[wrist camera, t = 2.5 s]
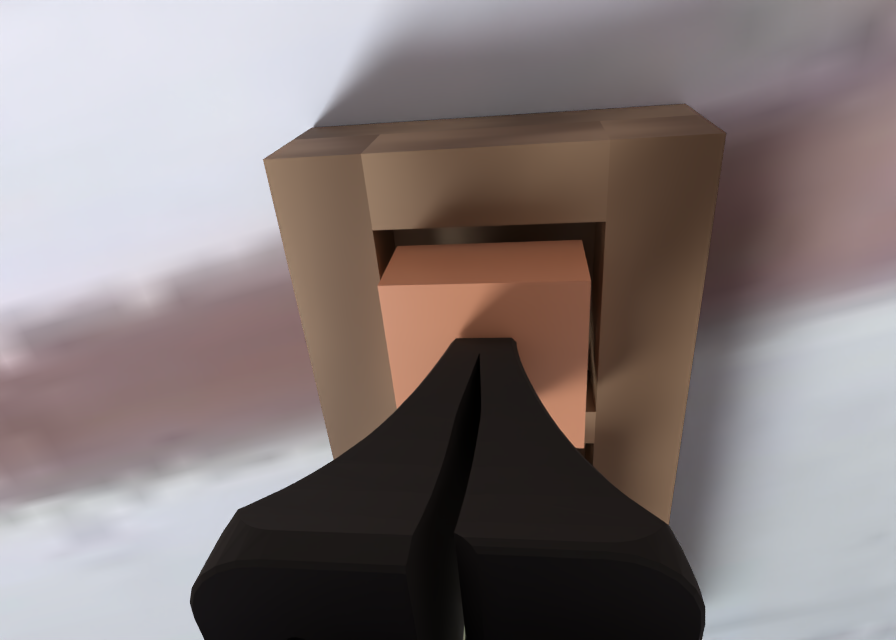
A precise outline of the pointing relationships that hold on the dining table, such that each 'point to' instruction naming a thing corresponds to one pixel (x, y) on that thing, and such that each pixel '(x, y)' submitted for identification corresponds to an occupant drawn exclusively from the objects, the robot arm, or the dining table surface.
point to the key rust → (494, 314)
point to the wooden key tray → (514, 220)
